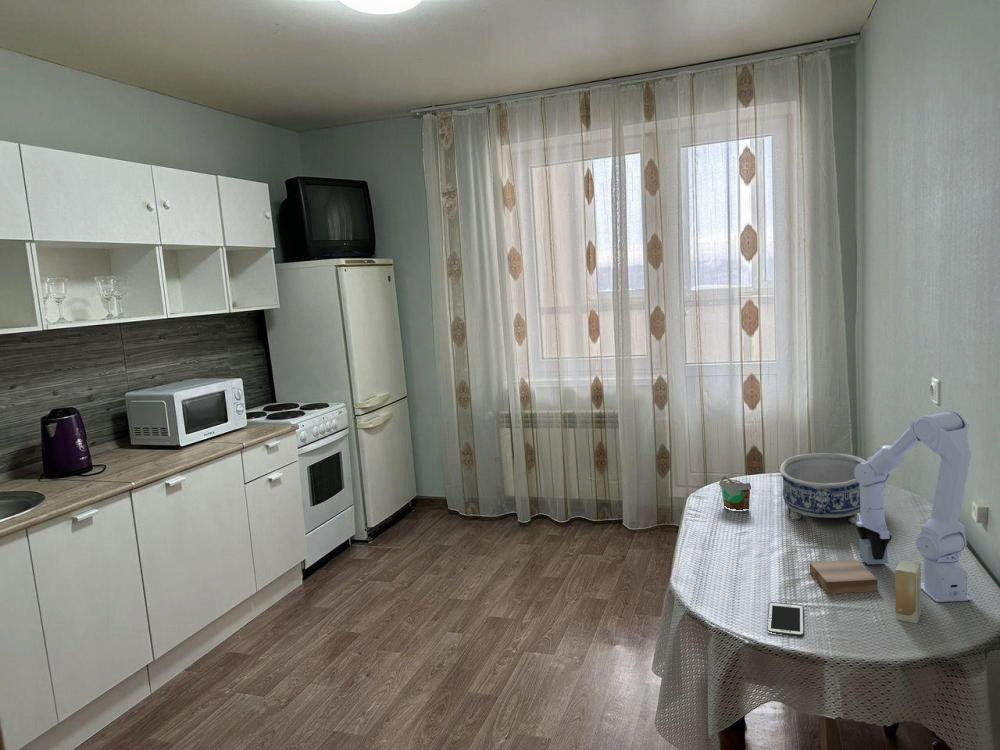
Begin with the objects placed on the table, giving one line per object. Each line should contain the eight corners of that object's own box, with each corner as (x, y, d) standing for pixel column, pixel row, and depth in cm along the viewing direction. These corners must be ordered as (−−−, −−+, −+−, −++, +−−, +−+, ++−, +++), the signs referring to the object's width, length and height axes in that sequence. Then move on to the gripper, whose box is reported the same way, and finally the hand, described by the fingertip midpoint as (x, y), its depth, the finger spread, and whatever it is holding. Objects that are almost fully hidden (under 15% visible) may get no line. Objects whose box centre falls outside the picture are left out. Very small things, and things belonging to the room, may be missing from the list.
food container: (712, 506, 242) (711, 478, 241) (726, 502, 245) (724, 475, 243) (738, 515, 231) (737, 486, 230) (752, 511, 233) (751, 483, 232)
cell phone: (803, 608, 167) (803, 604, 167) (804, 639, 154) (803, 635, 154) (769, 605, 171) (769, 601, 170) (766, 635, 157) (766, 631, 157)
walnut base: (877, 590, 172) (877, 579, 171) (827, 593, 173) (827, 582, 173) (856, 570, 184) (856, 559, 183) (809, 573, 185) (809, 562, 184)
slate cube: (887, 563, 184) (887, 545, 184) (868, 564, 185) (867, 546, 184) (878, 555, 189) (878, 538, 189) (859, 556, 190) (859, 539, 189)
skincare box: (900, 608, 163) (899, 558, 161) (921, 612, 160) (921, 562, 158) (894, 620, 158) (894, 568, 156) (916, 624, 155) (916, 572, 154)
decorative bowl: (873, 535, 205) (872, 487, 203) (776, 528, 217) (774, 482, 215) (868, 491, 243) (867, 449, 241) (786, 487, 255) (784, 447, 253)
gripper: (845, 498, 193) (846, 545, 194) (868, 516, 178) (870, 566, 180) (871, 497, 192) (872, 544, 194) (897, 514, 178) (898, 565, 179)
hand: (873, 554), depth 187 cm, fingers closed on slate cube, 5 cm apart
